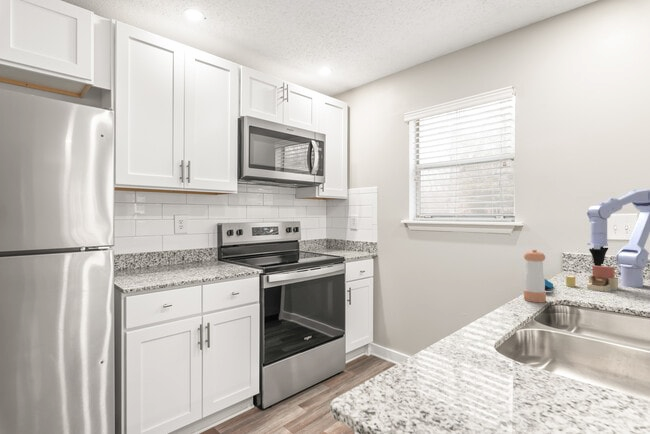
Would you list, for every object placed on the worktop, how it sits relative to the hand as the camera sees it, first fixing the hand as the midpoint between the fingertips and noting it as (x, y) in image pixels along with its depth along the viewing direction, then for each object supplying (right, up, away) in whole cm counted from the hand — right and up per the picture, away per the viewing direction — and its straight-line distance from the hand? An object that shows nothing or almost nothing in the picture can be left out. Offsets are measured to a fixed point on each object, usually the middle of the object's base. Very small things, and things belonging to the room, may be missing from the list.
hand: (598, 264), depth 153 cm
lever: (-27, -11, -2) cm, 29 cm away
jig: (0, -11, -2) cm, 11 cm away
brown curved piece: (0, -10, -2) cm, 10 cm away
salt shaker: (-38, -11, -18) cm, 43 cm away
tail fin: (-10, -11, +4) cm, 15 cm away
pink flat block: (+2, -6, -1) cm, 6 cm away
